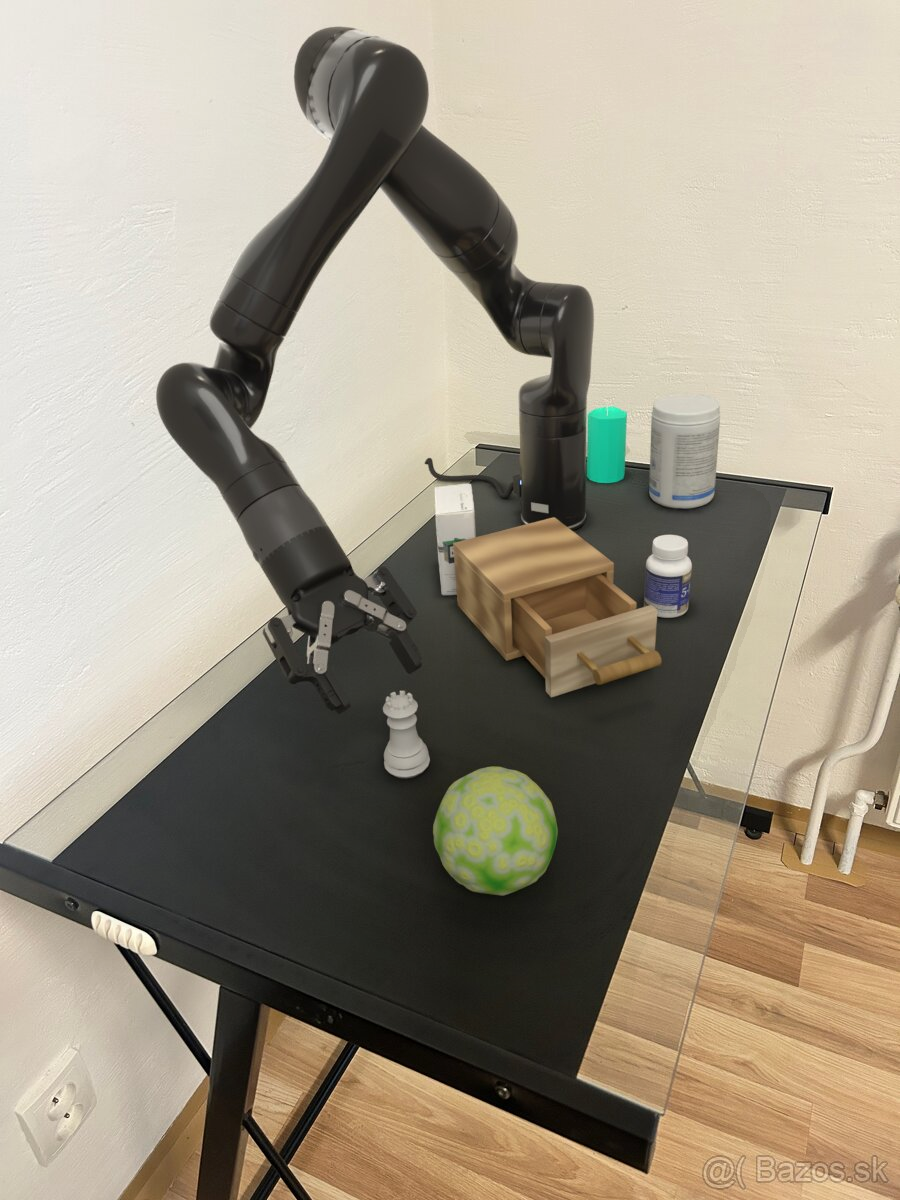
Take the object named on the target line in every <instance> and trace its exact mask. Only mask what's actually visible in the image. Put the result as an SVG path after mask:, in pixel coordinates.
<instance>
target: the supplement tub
mask: <svg viewBox="0 0 900 1200" xmlns="http://www.w3.org/2000/svg"><path fill="white" fill-rule="evenodd" d="M720 407H721V404H720V402H719V400H718V399H717V398H715V397H712V396H710V395H706V394H700V393H674V394H668V395H664V396H661V397H659V398H657V399H655V400H654V402H653V403H652V410H651V422H650V423H651V424H650V454H649V455H650V456H649V484H648V485H649V491H648V493H649V494H648V495H649V497H650V498H651V500H652V501H653V502H654V503H656V504H658V505H660V506H662V507H666V508H669V509H683V510H687V509H689V510H690V509H695V508H700V507H703V506H704V505H707V504H708V503H710V502H711V501H712V500H713V499H714V496H715V493H716V478H717V467H718V465H717V464H718V454H719V453H718V452H719V439H720V426H721V425H720V424H721V412H720V409H721V408H720Z"/></svg>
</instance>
